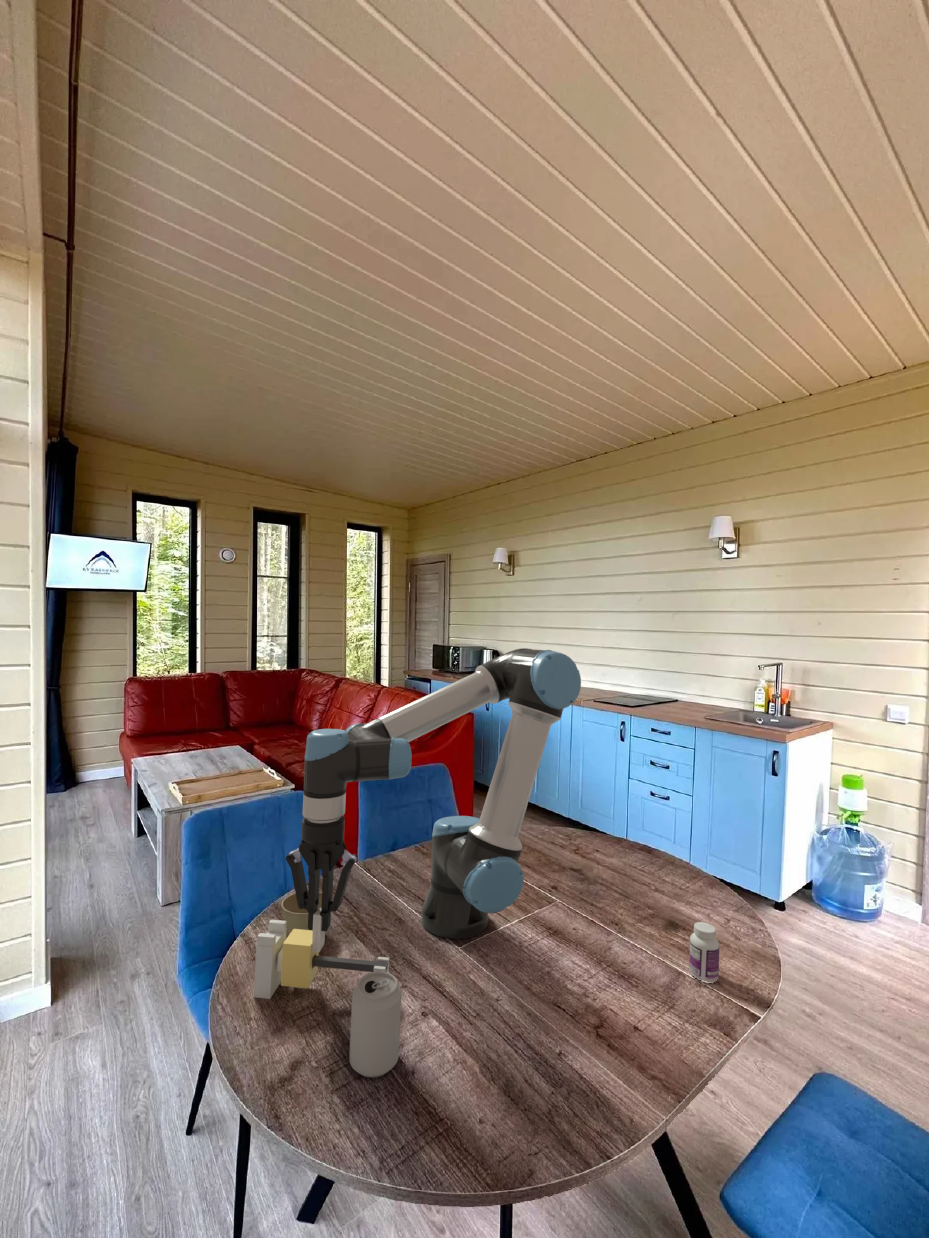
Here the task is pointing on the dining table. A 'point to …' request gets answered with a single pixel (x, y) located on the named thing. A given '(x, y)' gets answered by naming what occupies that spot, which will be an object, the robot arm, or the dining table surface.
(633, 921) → the dining table surface
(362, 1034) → the can
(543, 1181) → the dining table surface
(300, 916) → the flower pot
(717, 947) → the pill bottle
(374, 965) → the linear slide mechanism
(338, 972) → the dining table surface
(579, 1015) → the dining table surface
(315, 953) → the sleeve
